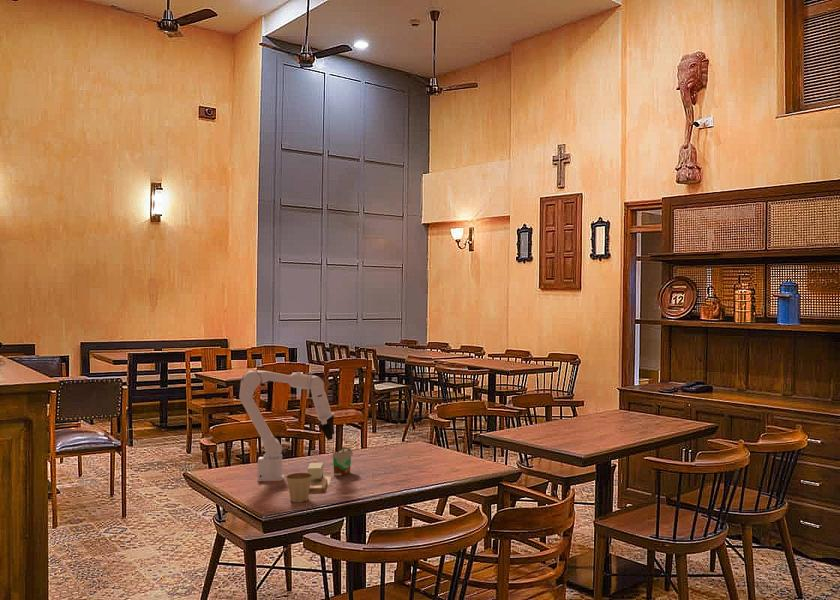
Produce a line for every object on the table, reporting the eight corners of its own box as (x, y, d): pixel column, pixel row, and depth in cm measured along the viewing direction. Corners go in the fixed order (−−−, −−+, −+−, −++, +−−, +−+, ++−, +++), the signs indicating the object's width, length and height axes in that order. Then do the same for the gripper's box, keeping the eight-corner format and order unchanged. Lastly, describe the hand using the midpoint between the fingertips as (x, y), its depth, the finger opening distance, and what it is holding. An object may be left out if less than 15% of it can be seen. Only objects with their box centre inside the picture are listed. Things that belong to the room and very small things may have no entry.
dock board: (293, 494, 255) (293, 488, 255) (301, 477, 278) (301, 473, 278) (326, 493, 255) (326, 488, 255) (331, 477, 278) (331, 472, 278)
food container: (347, 479, 276) (347, 453, 276) (332, 478, 277) (332, 453, 277) (356, 471, 288) (356, 447, 288) (342, 470, 289) (342, 446, 289)
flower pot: (289, 505, 241) (288, 480, 241) (283, 498, 249) (282, 474, 249) (315, 502, 245) (315, 477, 245) (308, 495, 253) (308, 471, 253)
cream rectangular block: (307, 482, 270) (307, 468, 270) (310, 476, 279) (310, 462, 279) (321, 482, 270) (321, 468, 270) (323, 475, 280) (323, 462, 280)
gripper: (329, 406, 275) (339, 438, 276) (332, 398, 289) (341, 429, 290) (312, 411, 275) (322, 443, 276) (316, 403, 289) (325, 434, 290)
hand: (330, 436), depth 283 cm, fingers open, 7 cm apart
